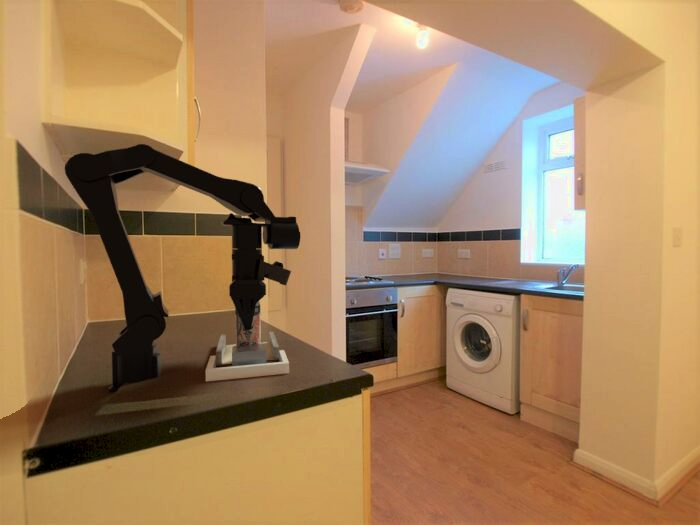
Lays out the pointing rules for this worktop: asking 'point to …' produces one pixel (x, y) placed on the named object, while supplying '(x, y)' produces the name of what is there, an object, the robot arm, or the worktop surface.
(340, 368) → the worktop surface
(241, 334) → the beer can
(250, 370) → the tray
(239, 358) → the grey block
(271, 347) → the slot plate
